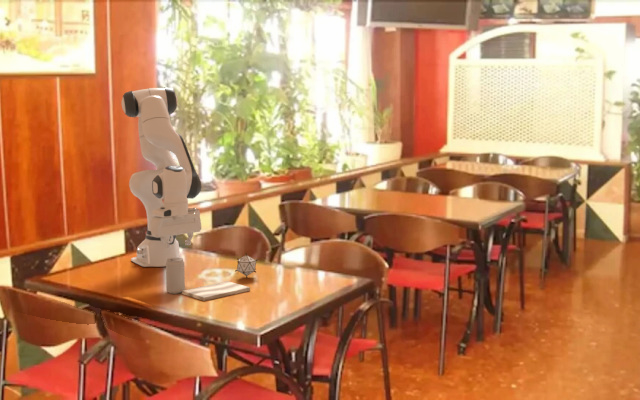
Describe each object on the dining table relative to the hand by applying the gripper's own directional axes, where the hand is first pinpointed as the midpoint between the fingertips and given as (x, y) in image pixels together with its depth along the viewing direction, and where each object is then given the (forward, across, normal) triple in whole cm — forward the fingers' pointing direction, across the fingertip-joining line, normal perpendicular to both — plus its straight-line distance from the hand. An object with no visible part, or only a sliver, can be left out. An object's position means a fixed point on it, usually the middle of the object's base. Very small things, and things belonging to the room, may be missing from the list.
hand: (177, 246), depth 285 cm
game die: (+14, -21, +14) cm, 29 cm away
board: (+14, 0, +23) cm, 27 cm away
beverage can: (+14, +10, +13) cm, 21 cm away
